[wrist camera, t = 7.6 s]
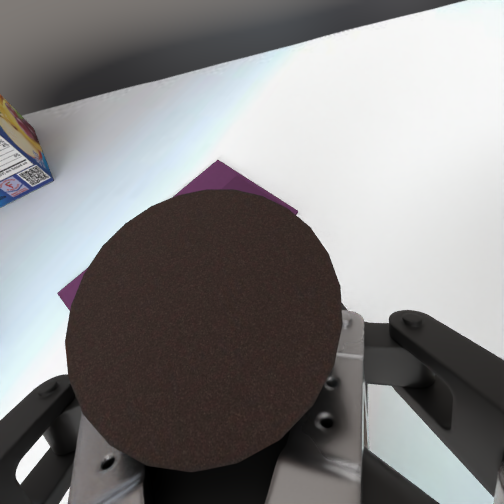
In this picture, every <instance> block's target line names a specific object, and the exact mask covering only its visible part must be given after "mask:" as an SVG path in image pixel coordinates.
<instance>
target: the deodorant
mask: <svg viewBox="0 0 504 504" xmlns="http://www.w3.org/2000/svg"><path fill="white" fill-rule="evenodd" d="M342 325H343V320H342V306H341V291H340V284H339V282H338V279H337V276H336V273H335V270H334V268H333V265H332V262H331V259H330V256H329V254H328V252H327V251H326V249H325V248H324V246H323V245H322V244H321V242H320V241H319V239H318V238H317V236H316V235H315V233H314V232H313V231H312V229H311V228H310V227H309V226H308V225H307V224H306V223H304V222H303V221H302V220H301V219H300V218H299V217H297V216H296V215H295V214H294V213H293V212H291V211H290V210H289V209H288V208H286V207H284V206H282V205H280V204H278V203H276V202H274V201H272V200H270V199H268V198H266V197H264V196H261V195H256V194H252V193H248V192H243V191H239V190H234V189H206V190H201V191H196V192H191V193H186V194H181V195H177V196H175V197H173V198H170V199H168V200H165V201H163V202H161V203H158V204H156V205H154V206H151V207H150V208H148V209H147V210H145V211H144V212H142V213H141V214H139V215H138V216H136V217H135V218H133V219H132V220H130V221H129V222H127V223H126V224H125V225H124V226H123V227H122V228H120V229H119V230H118V231H117V232H116V233H115V234H114V235H113V236H112V237H111V238H110V239H109V240H108V241H107V242H106V243H105V244H104V245H103V246H102V248H101V249H100V251H99V252H98V254H97V255H96V257H95V258H94V260H93V261H92V263H91V264H90V266H89V267H88V269H87V270H86V271H85V273H84V275H83V277H82V280H81V282H80V285H79V287H78V290H77V292H76V295H75V297H74V300H73V302H72V304H71V309H70V315H69V321H68V327H67V333H66V339H65V346H66V356H67V367H68V377H69V381H70V383H71V386H72V388H73V391H74V393H75V396H76V398H77V401H78V403H79V405H80V408H81V410H82V413H83V415H84V416H85V417H86V418H87V420H88V421H89V422H90V423H91V424H92V425H93V426H94V428H95V429H96V430H97V431H98V432H99V433H100V434H101V436H102V437H103V438H104V439H105V440H106V441H107V443H108V444H109V445H110V446H112V447H114V448H116V449H117V450H119V451H121V452H123V453H125V454H127V455H128V456H130V457H132V458H134V459H136V460H137V461H139V462H141V463H143V464H145V465H146V466H152V467H159V468H165V469H172V470H179V471H186V472H196V471H201V470H207V469H212V468H216V467H221V466H226V465H231V464H236V463H239V462H241V461H242V460H244V459H246V458H248V457H250V456H251V455H253V454H255V453H257V452H259V451H260V450H262V449H264V448H266V447H268V446H269V445H271V444H273V443H275V442H277V441H278V440H280V439H281V438H282V437H283V436H284V435H285V434H286V433H287V432H288V431H289V430H290V429H291V428H292V427H293V426H294V425H295V424H296V423H297V422H298V421H299V419H300V418H301V417H302V416H303V415H304V414H305V413H306V412H307V411H308V410H309V409H310V408H311V407H312V406H313V405H314V403H315V401H316V399H317V397H318V395H319V393H320V391H321V389H322V387H323V386H324V384H325V382H326V380H327V378H328V376H329V374H330V372H331V370H332V368H333V366H334V364H335V359H336V354H337V349H338V345H339V340H340V335H341V330H342Z"/></svg>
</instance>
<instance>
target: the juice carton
mask: <svg viewBox="0 0 504 504" xmlns="http://www.w3.org/2000/svg"><path fill="white" fill-rule="evenodd" d="M52 181H54V180H53V177H52V175H51V172H50V170H49V167H48V164H47V162H46V159H45V157H44V154H43V152H42V149H41V146H40V144H39V141H38V139H37V136H36V134H35V131H34V128H33V127H32V126H31V125H30V124H29V123H28V122H27V121H26V120H25V119H24V118H23V117H22V116H21V115H20V114H19V113H18V112H17V111H16V110H15V109H14V108H13V107H12V106H11V105H10V104H9V103H8V102H7V101H6V100H5V99H4V98H3V97H2V96H1V95H0V208H1V207H3V206H5V205H7V204H9V203H11V202H13V201H15V200H17V199H19V198H21V197H23V196H25V195H27V194H29V193H31V192H33V191H35V190H37V189H38V188H40V187H42V186H44V185H46V184H48V183H50V182H52Z"/></svg>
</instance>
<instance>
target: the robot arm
mask: <svg viewBox="0 0 504 504" xmlns="http://www.w3.org/2000/svg"><path fill="white" fill-rule="evenodd" d="M341 306H342V320H343V325H342V330H341V335H340V340H339V345H338V349H337V354H336V359H335V364H334V366H333V368H332V370H331V372H330V374H329V376H328V378H327V380H326V382H325V384H324V386H323V387H322V389H321V391H320V393H319V395H318V397H317V399H316V401H315V403H314V405H313V406H312V407H311V408H310V409H309V410H308V411H307V412H306V413H305V414H304V415H303V416H302V417H301V418H300V419H299V421H298V422H297V423H296V424H295V425H294V426H293V427H292V428H291V429H290V430H289V431H288V432H287V433H286V434H285V435H284V436H283V437H282V438H281V439H280V440H278V441H277V442H275V443H273V444H271V445H269V446H268V447H266V448H264V449H262V450H260V451H259V452H257V453H255V454H253V455H251V456H250V457H248V458H246V459H244V460H242V461H241V462H239V463H236V464H231V465H226V466H221V467H216V468H212V469H207V470H201V471H196V472H186V471H179V470H172V469H165V468H159V467H152V466H146V465H145V464H143V463H141V462H139V461H137V460H136V459H134V458H132V457H130V456H128V455H127V454H125V453H123V452H121V451H119V450H117V449H116V448H114V447H112V446H110V445H109V444H108V443H107V441H106V440H105V439H104V438H103V437H102V436H101V434H100V433H99V432H98V431H97V430H96V429H95V428H94V426H93V425H92V424H91V423H90V422H89V421H88V420H87V418H86V417H85V416H84V415H83V413H82V410H81V408H80V405H79V403H78V401H77V398H76V396H75V393H74V391H73V388H72V386H71V383H70V381H69V377H68V375H60V376H56V377H54V378H51V379H49V380H47V381H46V382H44V383H42V384H41V385H39V386H38V387H37V388H35V389H34V390H33V391H32V392H31V393H30V394H29V395H27V396H26V397H25V398H24V399H23V400H22V401H21V402H20V403H19V404H18V405H17V406H16V407H15V408H13V409H12V410H11V411H10V412H9V413H8V414H7V415H6V416H5V417H4V418H3V419H2V420H0V504H59V503H60V501H61V500H62V498H63V496H64V495H65V493H66V492H67V490H68V489H69V487H70V492H69V498H68V504H439V503H438V502H437V501H435V500H434V499H433V498H431V497H430V496H429V495H427V494H426V493H425V492H423V491H422V490H421V489H420V488H418V487H417V486H416V485H414V484H413V483H412V482H410V481H409V480H408V479H406V478H405V477H404V476H402V475H401V474H400V473H398V472H397V471H396V470H394V469H393V468H392V467H390V466H389V465H388V464H386V463H385V462H384V461H382V460H381V459H380V458H379V457H377V456H376V455H375V454H373V453H372V452H371V451H369V430H368V384H378V385H390V386H392V387H393V388H394V389H395V391H396V392H397V393H398V394H399V395H400V396H401V397H402V398H403V399H404V400H405V401H406V403H407V404H408V405H409V406H410V407H411V408H412V409H413V410H414V411H415V412H416V413H417V415H418V416H419V417H420V418H421V419H422V420H423V421H424V422H425V423H426V424H427V425H428V426H429V428H430V429H431V430H432V431H433V432H434V433H435V434H436V435H437V436H438V437H439V438H440V440H441V441H442V442H443V443H444V444H445V445H446V446H447V447H448V448H449V449H450V450H451V451H452V453H453V454H454V455H455V456H456V457H457V458H458V459H459V460H460V461H461V462H462V463H463V465H464V466H465V467H466V468H467V469H468V470H469V471H470V472H471V473H472V474H473V475H474V477H475V478H476V479H477V480H478V481H479V482H480V483H481V484H482V485H483V486H484V487H485V488H486V490H487V491H488V492H489V493H490V494H491V495H492V496H493V497H494V502H493V504H504V360H502V359H501V358H499V357H497V356H496V355H494V354H492V353H491V352H489V351H487V350H486V349H484V348H482V347H481V346H479V345H477V344H476V343H474V342H472V341H471V340H469V339H467V338H466V337H464V336H462V335H461V334H459V333H457V332H456V331H454V330H452V329H451V328H449V327H447V326H446V325H444V324H442V323H441V322H439V321H437V320H436V319H434V318H432V317H431V316H429V315H427V314H425V313H422V312H418V311H412V310H402V311H397V312H394V313H393V314H391V315H390V317H389V323H368V322H364V319H363V317H362V316H361V315H359V314H358V313H355V312H352V311H348V310H347V309H346V308H345V306H344V305H343V304H342V303H341ZM42 435H43V436H44V437H45V439H46V440H47V442H48V444H49V445H50V448H49V450H48V451H47V452H46V453H45V455H44V456H43V457H42V458H41V460H40V461H39V462H38V463H37V465H36V466H35V467H34V468H33V470H32V471H31V472H30V473H29V475H28V476H27V477H26V478H25V480H24V481H23V482H22V483H21V485H20V484H19V483H18V481H17V480H16V476H15V474H16V469H17V466H18V464H19V462H20V460H21V459H22V458H23V456H24V455H25V454H26V453H27V452H28V451H29V450H30V448H31V447H32V446H33V445H34V444H35V443H36V441H37V440H38V439H39V438H40V437H41V436H42Z"/></svg>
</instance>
